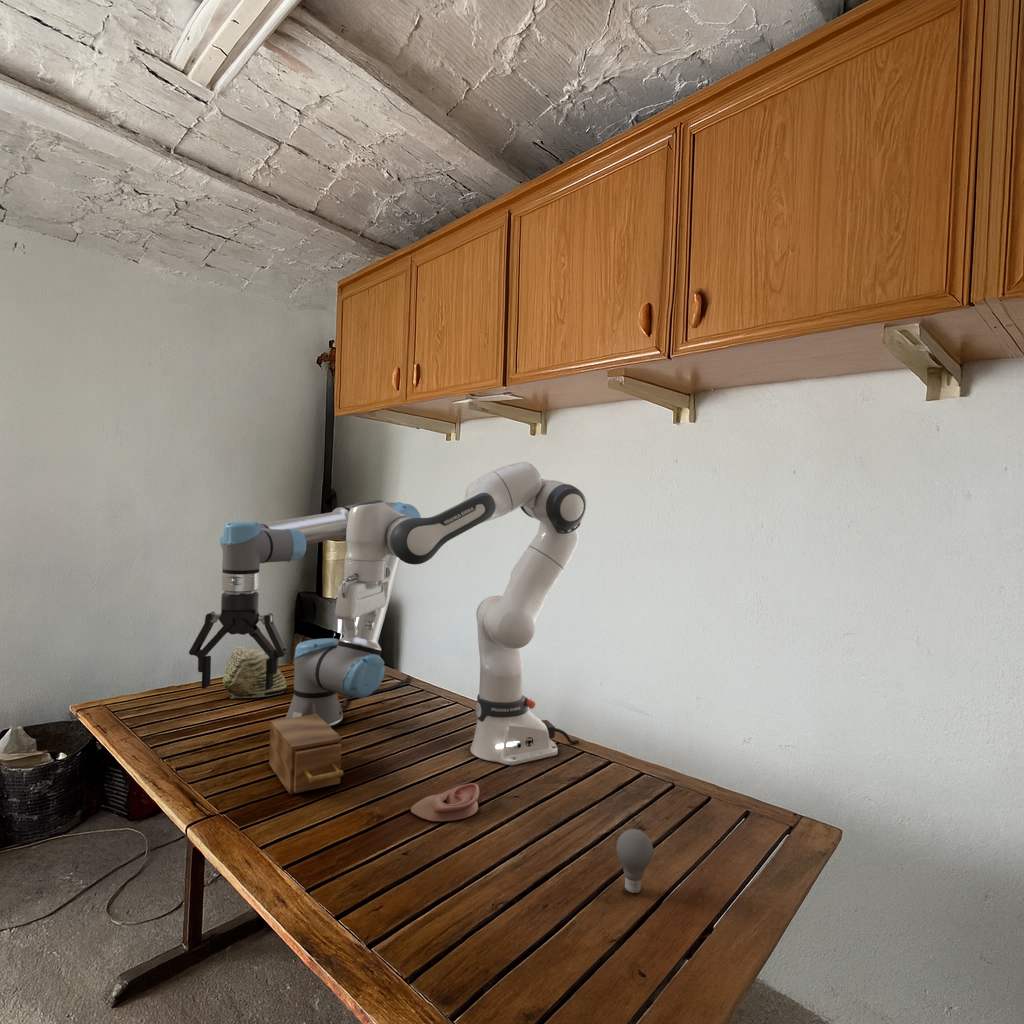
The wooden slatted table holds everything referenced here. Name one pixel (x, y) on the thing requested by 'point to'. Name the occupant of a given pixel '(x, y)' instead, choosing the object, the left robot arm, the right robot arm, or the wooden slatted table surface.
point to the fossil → (250, 675)
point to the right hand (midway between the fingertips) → (361, 633)
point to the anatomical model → (449, 804)
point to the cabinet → (296, 743)
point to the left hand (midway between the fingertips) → (237, 687)
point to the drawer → (317, 767)
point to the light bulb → (634, 857)
